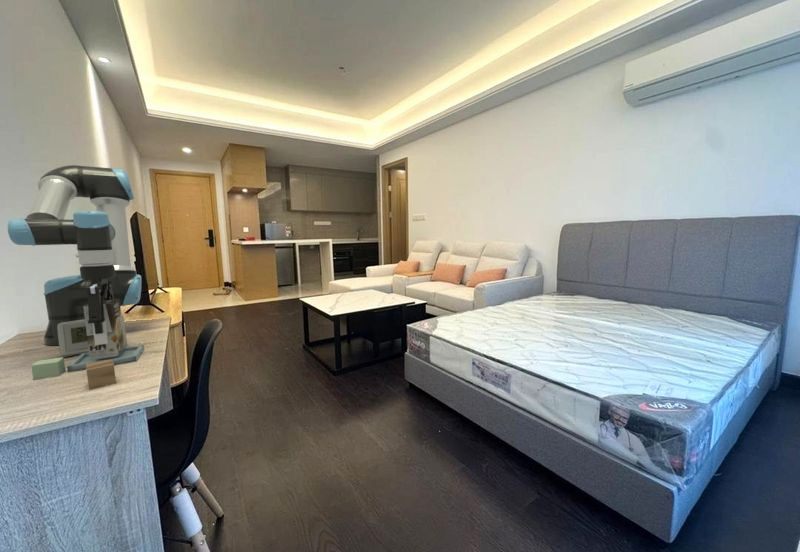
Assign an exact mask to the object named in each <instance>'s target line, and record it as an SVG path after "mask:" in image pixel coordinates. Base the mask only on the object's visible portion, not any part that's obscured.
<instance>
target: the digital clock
mask: <svg viewBox="0 0 800 552" xmlns="http://www.w3.org/2000/svg"><path fill="white" fill-rule="evenodd" d="M121 318H122V327H123V336H124V344H125V347H127V345H128V340H127V333H126V332H127V331H126V323H125V318H124V315H122V314H121ZM57 330H58V339H59V345H58V347H59V354H60V357H61V358H62V357H64V358H68V357H73V356H78V357H79V356H80V355H81V354H82V353H88V352H89V348H88V341H87V333H86V325H85V319H82V320H76V321H69V322H62V323H59V324H58V325H57Z"/></svg>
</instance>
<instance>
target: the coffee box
mask: <svg viewBox="0 0 800 552" xmlns="http://www.w3.org/2000/svg"><path fill="white" fill-rule="evenodd" d="M83 308H84V317H85V325H86V333H87V341H88V348H89V356H90V360H95V359H102V358H109V357H116V356H118V355H119V354H120V352H121V351H122V350H123V349H124V348H125V347H126V346H125V344H124V336H123V327H122V318H121V315H122V310H121V306H120V300H119V299H111V300H104V304H103V309H104V321H106V329H107V337H108V344H100V345H95V340H94V333H93V325H92V323H88V321H89V312H88V304H86V305H83Z"/></svg>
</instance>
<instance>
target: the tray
mask: <svg viewBox="0 0 800 552" xmlns="http://www.w3.org/2000/svg"><path fill="white" fill-rule="evenodd" d="M144 350H145V348H144V344H142V345H141V344H140V345H139V344H138V345H134V346H125V348H124V349H123V350H122V351H121V352H120V354H119V355H118V356H116V357H109V358H102V359H95V360H90V356H89V352H88V353H82V354H81V355H78V357H76V358H75V359H73V361H72V362H70V363H69V364H68V365H67V366H66V371H67V373H72V372H78V371H84V370H86V365H87V364H92V363H97V362H102V361H107V360H113V363H114V366H115V365H123V364H127V363H128V364H129V363H135V362H137V361H138V360H139V358H140V357H141V355H142V354H143V352H144Z"/></svg>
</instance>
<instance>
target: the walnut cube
mask: <svg viewBox="0 0 800 552" xmlns="http://www.w3.org/2000/svg"><path fill="white" fill-rule="evenodd" d="M85 370H86V376H87V378H86V379H87V384H88V390H93V389H98V388H102V387H106V386H109V385H113V384H116V383H117V380H116V371H115V365H114V363H113V360H107V361H102V362H97V363H92V364H87V365H86V369H85Z"/></svg>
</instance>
